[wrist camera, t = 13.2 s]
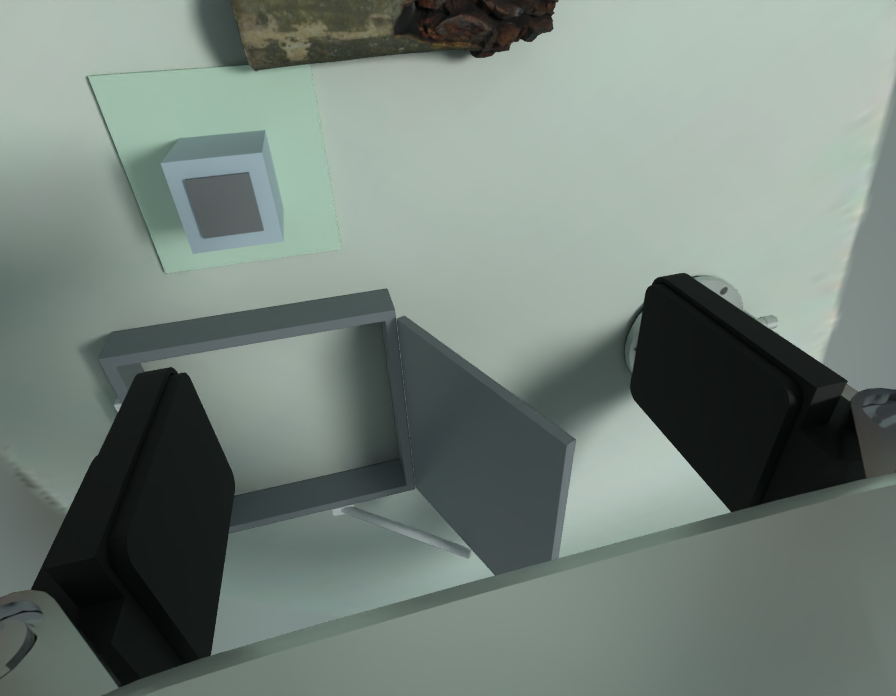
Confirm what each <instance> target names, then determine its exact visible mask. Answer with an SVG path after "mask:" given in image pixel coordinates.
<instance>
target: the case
mask: <svg viewBox="0 0 896 696" xmlns="http://www.w3.org/2000/svg"><path fill="white" fill-rule="evenodd" d="M377 322H382V329H383V337H384V344H385V352H386V359H387V367H388V374H389V381H390V389H391V396H392V404H393V411H394V419H395V426H396V434H397V441H398V449H399V456H400V459H398V460H394V461H389V462H385V463H380V464H376V465H371V466H367V467H362V468H358V469H354V470H349V471H345V472H340V473H336V474H331V475H327V476H322V477H318V478H313V479H309V480H305V481H300V482H296V483H291V484H287V485H282V486H278V487H273V488H269V489H265V490H260V491H256V492H251V493H247V494H242V495H238V496H234V500H233V507H232V513H231V520H230V527H229V533H233V532H237V531H241V530H246V529H250V528H254V527H258V526H262V525H267V524H271V523H275V522H279V521H283V520H288V519H292V518H296V517H300V516H304V515H309V514H313V513H317V512H321V511H325V510H330V509H332V512H333V516H338V515H342V514H348V515H351V516H353V517H356V518H359V519H362V520H364V521H367V522H370V523H372V524H375V525H378V526H381V527H383V528H386V529H389V530H392V531H394V532H397V533H400V534H403V535H405V536H408V537H411V538H413V539H416V540H419V541H422V542H424V543H427V544H430V545H433V546H435V547H438V548H441V549H443V550H446V551H449V552H452V553H454V554H457V555H460V556H463V557H465V558H468V559H469V558H470V555H471V551H472V550H471V549H470V548H467V547H464V546H461V545H458V544H456V543H453V542H450V541H447V540H444V539H442V538H439V537H436V536H433V535H430V534H428V533H425V532H422V531H419V530H417V529H414V528H411V527H408V526H405V525H403V524H400V523H397V522H394V521H391V520H389V519H386V518H383V517H380V516H377V515H375V514H372V513H369V512H366V511H364V510H361V509H358V508H355V507H354V504H355V503H359V502H363V501H367V500H372V499H376V498H380V497H384V496H389V495H393V494H397V493H401V492H405V491H410V490H414V489H415V481H414V472H413V463H412V454H411V445H410V437H409V428H408V419H407V410H406V402H405V393H404V384H403V375H402V367H401V358H400V349H399V340H398V331H397V323H396V314H395V308H394V306H393V303H392V300H391V297H390V295H389V292H388V289H382V290H376V291H369V292H363V293H357V294H350V295H344V296H338V297H331V298H325V299H319V300H312V301H306V302H300V303H293V304H287V305H281V306H274V307H268V308H262V309H256V310H249V311H243V312H237V313H230V314H224V315H218V316H211V317H205V318H199V319H192V320H186V321H180V322H173V323H167V324H161V325H154V326H148V327H142V328H135V329H129V330H123V331H116V332H112V333H111V335H110V337H109V339H108V341H107V343H106V345H105V347H104V348H103V350H102V352H101V354H100V356H99V358H98V361H99V363H100V365H101V367H102V369H103V370H104V372H105V374H106V376H107V378H108V380H109V382H110V383H111V385H112V387H113V389H114V391H115V393H116V395H117V399H116V401H115V403H114V407H115V408H116V410H117V412H118V411H119V409H120V407H121V405H122V403H123V401H124V399H125V397H126V394H127V392H128V390H129V388H130V386H131V384H132V382H133V380H134V377H135V376H136V375H137V374H138V373H142V372H144V371H143V368H142V366H141V364H140V363H142V362H148V361H154V360H160V359H165V358H171V357H177V356H183V355H189V354H195V353H201V352H206V351H212V350H218V349H224V348H230V347H236V346H242V345H248V344H253V343H259V342H265V341H271V340H277V339H283V338H289V337H294V336H300V335H306V334H312V333H318V332H324V331H330V330H336V329H341V328H347V327H353V326H359V325H365V324H371V323H377Z"/></svg>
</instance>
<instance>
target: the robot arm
mask: <svg viewBox="0 0 896 696" xmlns="http://www.w3.org/2000/svg"><path fill="white" fill-rule="evenodd" d="M777 326H778V320H777V318H776V317H775V316H773V315H769V316H764V317H760V318H755V317H754V316H752V315H751V314H749V313H748V312H746V311H745V310H743V302H742V298H741V296H740V294H739V293H738V291H737V289H735V288H734V287H733V286H732V285H731V284H729V283H727V282H726V281H724V280H722V279H720V278H716V277H713V276H700V277H694V278H693V277H691V276H690V275H688V274H685V273H679V274H674V275H669V276H663V277H658V278H657V279H655V280H654V282H653V283H652V285H651V286H649V287H648V288H647V290H646V293H645V299H644V305H643V311H642V312H641V313H640V314H639V316H638V317H637V319H636V321H635V322H634V324H633V325H632V328H631V330H630V332H629V334H628V337H627V341H626V345H625V359H626V364H627V366H628V368H629V370H630V372H631V373H632V377H631V383H630V389H631V394H632V396H633V399H634V400H635V402H636V403H637V404H638V405H639V406H640V407H641V408H642V410H643V411H644V412H645V413H646V414H647V415H648V417H649V418H650V419H651V420H652V421H653V422H654V423H655V425H656V426H657V427H658V428H659V429H660V430H661V432H662V433H663V434H664V435H665V436H666V437H667V439H668V440H669V441H670V442H671V443H672V444H673V445H674V447H675V448H676V449H677V450H678V451H679V452H680V454H681V455H682V456H683V457H684V458H685V459H686V460H687V462H688V463H689V464H690V465H691V466H692V467H693V469H694V470H695V471H696V472H697V473H698V474H699V475H700V477H701V478H702V479H703V480H704V481H705V482H706V484H707V485H708V486H709V487H710V488H711V489H712V490H713V492H714V493H715V494H716V495H717V496H718V497H719V499H720V500H721V501H722V502H723V503H724V504H725V505H726V507H727V508H728V509H729V510H730V511H731V513H727V514H723V515H720V516H716V517H712V518H708V519H704V520H701V521H697V522H693V523H689V524H686V525H682V526H678V527H674V528H670V529H667V530H663V531H659V532H655V533H651V534H648V535H644V536H640V537H637V538H633V539H629V540H625V541H622V542H618V543H614V544H611V545H607V546H603V547H599V548H596V549H592V550H588V551H584V552H581V553H577V554H573V555H570V556H566V557H562V558H559V559H555V560H551V561H547V562H544V563H540V564H536V565H533V566H529V567H525V568H522V569H518V570H514V571H511V572H507V573H503V574H499V575H496V576H492V577H488V578H485V579H481V580H477V581H474V582H470V583H466V584H463V585H459V586H456V587H452V588H448V589H445V590H441V591H437V592H434V593H430V594H426V595H423V596H419V597H416V598H412V599H408V600H405V601H401V602H397V603H394V604H390V605H387V606H383V607H379V608H376V609H372V610H368V611H365V612H361V613H358V614H354V615H350V616H347V617H343V618H339V619H336V620H332V621H329V622H325V623H322V624H318V625H314V626H311V627H307V628H304V629H300V630H297V631H294V632H291V633H287V634H283V635H280V636H276V637H273V638H270V639H266V640H263V641H260V642H256V643H253V644H249V645H246V646H242V647H239V648H236V649H232V650H229V651H225V652H222V653H218V654H215V655H212V656H211V651H212V643H213V637H214V631H215V624H216V616H217V610H218V602H219V596H220V589H221V582H222V575H223V569H224V562H225V555H226V548H227V541H228V534H229V527H230V520H231V513H232V507H233V500H234V493H235V481H234V476H233V473H232V470H231V468H230V466H229V463H228V461H227V459H226V457H225V455H224V452H223V450H222V448H221V446H220V443H219V441H218V439H217V437H216V435H215V432H214V430H213V428H212V426H211V423H210V421H209V419H208V417H207V415H206V412H205V410H204V408H203V406H202V403H201V401H200V399H199V397H198V395H197V392H196V390H195V388H194V386H193V383H192V381H191V379H190V377H189V376H188V375H187V373H180V374H178V373H177V371H176V370H175V369H174V368H172V367H169V368H164V369H158V370H153V371H148V372H142V373H138V374H137V375H136V376H135V377H134V380H133V382H132V384H131V386H130V388H129V390H128V392H127V394H126V397H125V399H124V401H123V403H122V405H121V407H120V409H119V411H118V414H117V416H116V418H115V420H114V422H113V424H112V426H111V428H110V431H109V433H108V435H107V437H106V439H105V441H104V443H103V445H102V448H101V450H100V452H99V454H98V455H97V456H96V457H95V458H94V460H93V461H92V463H91V465H90V467H89V469H88V471H87V473H86V475H85V477H84V479H83V481H82V483H81V485H80V488H79V490H78V492H77V494H76V496H75V498H74V500H73V502H72V504H71V506H70V509H69V511H68V513H67V515H66V517H65V519H64V521H63V523H62V525H61V528H60V529H59V532H58V534H57V536H56V538H55V540H54V542H53V544H52V546H51V549H50V551H49V553H48V555H47V557H46V559H45V561H44V563H43V565H42V568H41V569H40V572H39V574H38V576H37V578H36V580H35V582H34V584H33V586H32V588H31V590H25V591H20V592H14V593H10V594H8V595H6V596H3V597H0V696H896V390H895V389H887V388H870V389H865V390H862V391H859V392H858V391H857V390H855V389H854V388H852V387H851V386H849V385H848V384H847V382H848V381H847V380H845V379H844V378H843V377H841V376H840V375H838V374H837V373H835V372H834V371H832V370H831V369H829V368H828V367H826V366H825V365H823V364H822V363H820V362H819V361H817V360H816V359H814V358H813V357H811V356H810V355H808V354H807V353H805V352H804V351H802V350H801V349H799V348H798V347H796V346H795V345H793V344H792V343H790V342H789V341H787V340H786V339H784V338H783V337H781V336H780V335H779V334H778V333H776V332H774V331H772V330H771V329H774V328H776V327H777Z"/></svg>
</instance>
